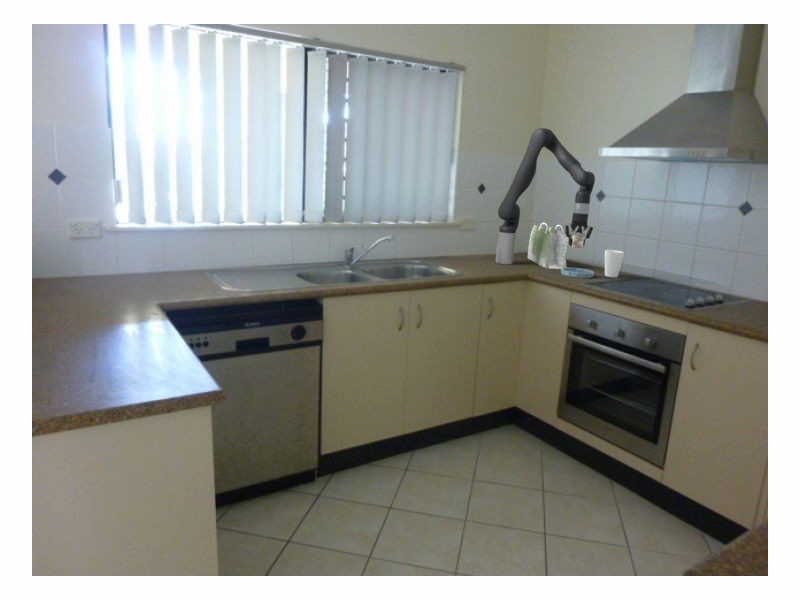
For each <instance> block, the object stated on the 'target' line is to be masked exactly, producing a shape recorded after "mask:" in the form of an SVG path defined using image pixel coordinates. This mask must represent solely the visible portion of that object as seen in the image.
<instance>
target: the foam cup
mask: <svg viewBox="0 0 800 600" xmlns="http://www.w3.org/2000/svg"><path fill="white" fill-rule="evenodd" d="M624 257H625V251H623V250H616V249H605V250H604V276H605V277H608V278H618V276H619V273H620V269H621V266H622V263H623V259H624Z"/></svg>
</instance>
